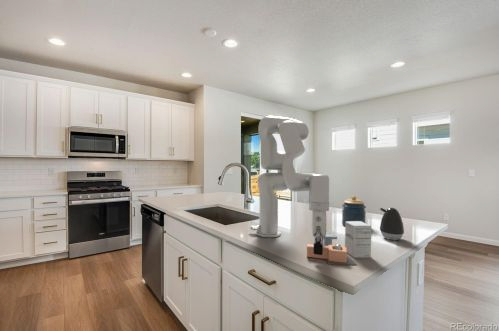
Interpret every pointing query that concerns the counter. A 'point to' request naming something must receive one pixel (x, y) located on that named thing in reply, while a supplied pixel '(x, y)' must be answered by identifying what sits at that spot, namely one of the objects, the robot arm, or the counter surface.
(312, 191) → the robot arm
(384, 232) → the pump dispenser
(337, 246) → the pintle station
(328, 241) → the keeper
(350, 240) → the supplement box
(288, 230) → the counter surface
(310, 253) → the link
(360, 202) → the canister
